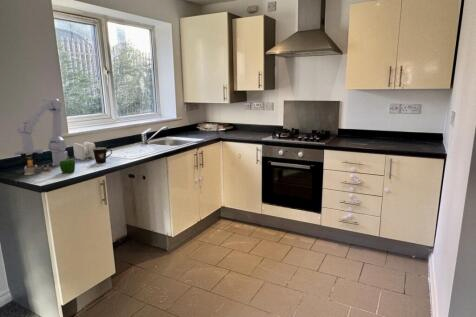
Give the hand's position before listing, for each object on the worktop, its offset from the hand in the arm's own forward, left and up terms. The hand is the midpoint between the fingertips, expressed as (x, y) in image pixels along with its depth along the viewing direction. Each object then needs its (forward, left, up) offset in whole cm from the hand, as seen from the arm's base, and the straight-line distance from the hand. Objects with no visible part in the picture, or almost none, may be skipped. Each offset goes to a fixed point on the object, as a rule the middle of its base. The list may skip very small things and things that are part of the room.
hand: (30, 165), depth 199 cm
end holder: (0, 0, -4) cm, 4 cm away
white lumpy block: (-32, -27, -5) cm, 42 cm away
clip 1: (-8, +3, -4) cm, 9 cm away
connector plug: (0, 0, -2) cm, 2 cm away
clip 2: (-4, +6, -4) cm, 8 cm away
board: (-4, +1, -4) cm, 6 cm away
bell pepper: (-20, +14, -5) cm, 25 cm away
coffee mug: (-42, -7, -5) cm, 43 cm away
